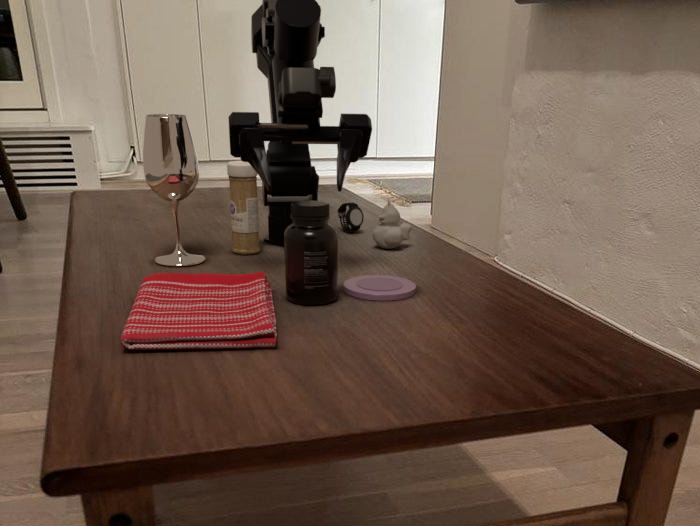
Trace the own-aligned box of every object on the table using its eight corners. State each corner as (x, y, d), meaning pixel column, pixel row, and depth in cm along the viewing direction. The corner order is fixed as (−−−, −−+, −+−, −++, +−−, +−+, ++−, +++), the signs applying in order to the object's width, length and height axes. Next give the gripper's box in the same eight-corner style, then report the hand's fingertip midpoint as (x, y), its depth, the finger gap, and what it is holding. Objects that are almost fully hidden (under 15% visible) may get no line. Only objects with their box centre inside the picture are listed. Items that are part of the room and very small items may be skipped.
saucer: (373, 276, 108) (373, 270, 107) (430, 289, 102) (430, 283, 102) (328, 290, 101) (328, 283, 100) (386, 305, 95) (386, 298, 95)
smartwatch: (343, 235, 131) (344, 205, 129) (336, 229, 136) (336, 200, 133) (365, 234, 132) (366, 205, 130) (357, 228, 137) (358, 200, 134)
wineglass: (194, 268, 109) (181, 118, 99) (145, 265, 110) (127, 116, 100) (213, 256, 115) (203, 114, 105) (167, 253, 117) (152, 112, 107)
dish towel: (270, 289, 101) (270, 269, 99) (280, 349, 80) (279, 326, 79) (142, 291, 98) (139, 271, 97) (118, 354, 78) (115, 330, 77)
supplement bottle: (345, 295, 99) (346, 201, 93) (326, 309, 93) (326, 210, 87) (298, 289, 101) (296, 196, 95) (277, 302, 95) (273, 205, 89)
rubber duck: (368, 245, 125) (369, 195, 121) (404, 243, 127) (407, 194, 123) (377, 252, 121) (379, 201, 117) (415, 250, 122) (418, 200, 118)
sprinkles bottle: (226, 251, 118) (220, 161, 112) (247, 247, 121) (243, 159, 115) (245, 256, 116) (240, 164, 109) (266, 252, 119) (263, 162, 112)
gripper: (223, 39, 91) (231, 146, 87) (371, 43, 94) (385, 147, 90) (227, 106, 102) (233, 204, 98) (359, 108, 105) (371, 203, 101)
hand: (305, 189), depth 96 cm, fingers open, 9 cm apart
